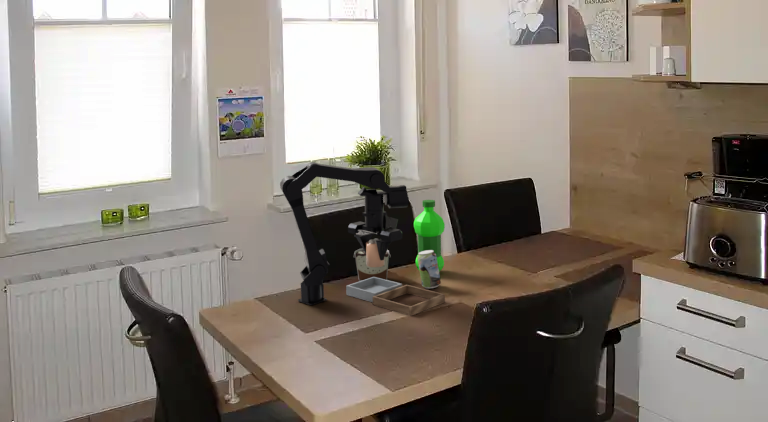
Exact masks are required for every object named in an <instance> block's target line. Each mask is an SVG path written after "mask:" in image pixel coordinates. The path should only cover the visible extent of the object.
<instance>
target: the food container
mask: <svg viewBox="0 0 768 422" xmlns="http://www.w3.org/2000/svg"><path fill="white" fill-rule="evenodd" d="M353 258H355V265H356V271H357V278H358V282H359V281H362V280H365V279H368V278H371V277H377V278H381V279H385V280H388V271H389V260H390V259H389V258H392V257H391V254H390V250H388V249H387V251H386V254H385V257H384V264H385V265H384V266H382V267H368V266H367V265H366V254H365V252H364V250H363V248H362V247H361V248H359V249H357V250H355V251H354V253H353Z"/></svg>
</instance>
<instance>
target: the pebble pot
mask: <svg viewBox="0 0 768 422" xmlns="http://www.w3.org/2000/svg"><path fill="white" fill-rule="evenodd" d="M376 240H379V238H373V239H371V240H369V242H366V265H367V266H368V267H382V266H384V265H385V264H384V260H382V261H381V260H380V257H379V253H378V248H377V243H376Z"/></svg>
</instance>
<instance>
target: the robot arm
mask: <svg viewBox="0 0 768 422" xmlns="http://www.w3.org/2000/svg"><path fill="white" fill-rule="evenodd" d="M316 178H323V179H329V180H330V179H331V180H338V181H345V182H353V183H355V184H358V185H361V186H363V187H362V188H361V189H360V190H359V191H358V192H357V195H359V196H360V197H364V212H362V214H361V215H362V217H364V222H363V221H356V222H351V223H349V225H348V227H347V233H348V234H352V235H354V238H356V240H357V241H358V243H359V244H360V246H361V249H362V248H363V250H364V252H365V254H366V242H369V240H372V237H373V235H376V236H379V238H378V240H376V243H377V248H378V253H379V257H380V260H381V261H382V260H384V257H385V254H386V251H387V250H388V248H389V246H390V244H391V243H392V242H395V241H399V240H402V239H403V231H402V230H401V229H398V228H397V226H398V221H399V219H398V218H395V217H391V216H388V212H387V211H385V210H384V205H385V206H387V207H388V209H399V208H408V206H409V199H410V198H409V195H408V189H407V186H406V185H405V184H401V185H392V186H391V185H389V184H388V183H387V182H386V177H385V174H384V173H383V172H382V171H381V170H380V169H378V168H376V167H372V166H367V167H365V166H364V167H358V168H357V167H356V168H355V167H354V168H351V167H344V166H340V165H339V166H337V165H330V164H321V163H317V162H313V161H312V162H309V163H308V164H307V165H306V166H304V167H302V168H301V169H299V170H298V171H296V172H294V173H293V174H292V175H286V176H284V177H283V178H282V179H281V181H280V183H279V185H280V191H281V192H282V193H283V195H284V198H285V199H286V201H287V203H288V204H289V206H290V208H291V211H292V215H293V217H294V220H295V224H296V226H297V229H298V232H299V235H300V238H301V242H302V245H303V248H304V254H305V255H304V256H305V263H306V265H305V266H304V267H303V268H302V270H301V271H300V272H299V275H300V277H301V279H302V282H300V296H301V297H300V298H299V299H298V300H297V302H299V303H303V304H306V305H309V306H313V305H317V304H320V303H323V302H326V301H327V300H328V299H327V298H326V297H325V290H324V283H323V280H324V278H325V277H326V276H327V274H328V273H329V267H330V265H331V264H330V263H329V262H328V260H327V254H326V252H325V250H324V248H320V249H319V248H318V246H317V244H316V239H315V236H314V233H313V230H312V227H311V223H310V220H309V218H308V215H307V211H306V209H305V206H304V195H303V189H305V188H306V187H307V186H309V184H310V183H312V181H313V180H315V179H316ZM364 186H365V187H364ZM366 187H367V188H369V189H367V188H366ZM377 189H378V190H380V191H378V190H377Z"/></svg>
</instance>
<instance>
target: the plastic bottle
mask: <svg viewBox="0 0 768 422" xmlns="http://www.w3.org/2000/svg"><path fill="white" fill-rule="evenodd" d="M421 203H422V207H423V211H422V212H421V213H420V214H418V216H416V217H415V219H414V221H413V228H414V233H415V234H416V235H417V255H416V258H415V266H416V269H417V270H418V272H420V270H419V264H418V259H417V257H418V255H419V254H418V253H419V252H421V251H425V250H433V251H434V253H435V254H436V257H437V263H438V269H439V272H441V271H442V269H443V268H444V265H445V260H444V258H443V255H442V234H443V233H444V231H445V227H446V226H445V225H446V224H445V221H444V219H443V217H442V216H441V215H439V214H438V212H437V211H435V209H434V208H436V201H435V199H424V200H422V202H421Z"/></svg>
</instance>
